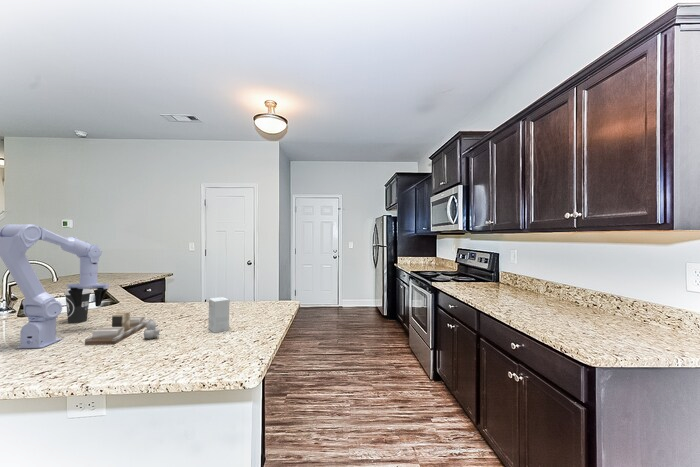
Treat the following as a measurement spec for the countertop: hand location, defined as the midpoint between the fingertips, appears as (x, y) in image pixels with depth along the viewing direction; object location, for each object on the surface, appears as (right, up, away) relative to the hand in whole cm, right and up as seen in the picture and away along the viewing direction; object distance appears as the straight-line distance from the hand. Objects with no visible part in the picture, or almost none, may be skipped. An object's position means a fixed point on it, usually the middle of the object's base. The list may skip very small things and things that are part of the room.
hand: (88, 306), depth 133 cm
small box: (+53, -11, +4) cm, 54 cm away
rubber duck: (+32, -11, -9) cm, 35 cm away
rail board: (+16, -10, -4) cm, 20 cm away
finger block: (+17, -9, -4) cm, 19 cm away
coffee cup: (-15, -10, +12) cm, 22 cm away
